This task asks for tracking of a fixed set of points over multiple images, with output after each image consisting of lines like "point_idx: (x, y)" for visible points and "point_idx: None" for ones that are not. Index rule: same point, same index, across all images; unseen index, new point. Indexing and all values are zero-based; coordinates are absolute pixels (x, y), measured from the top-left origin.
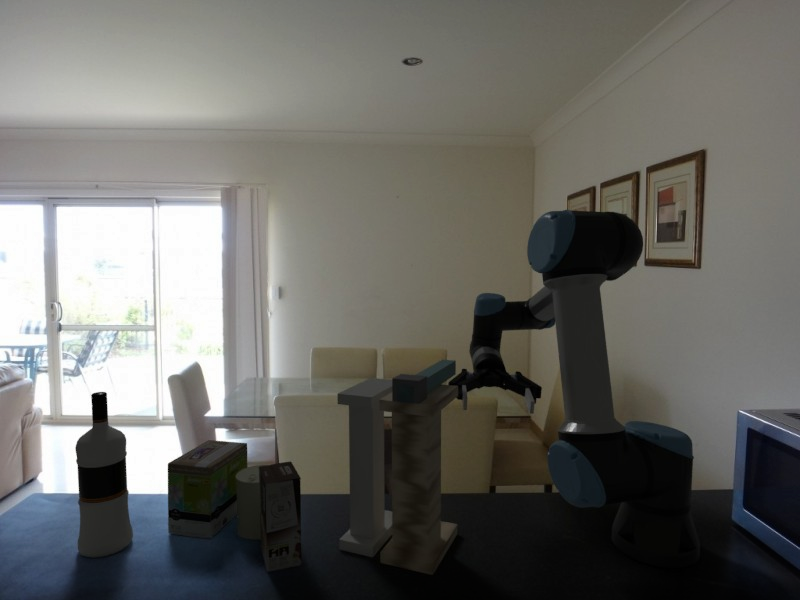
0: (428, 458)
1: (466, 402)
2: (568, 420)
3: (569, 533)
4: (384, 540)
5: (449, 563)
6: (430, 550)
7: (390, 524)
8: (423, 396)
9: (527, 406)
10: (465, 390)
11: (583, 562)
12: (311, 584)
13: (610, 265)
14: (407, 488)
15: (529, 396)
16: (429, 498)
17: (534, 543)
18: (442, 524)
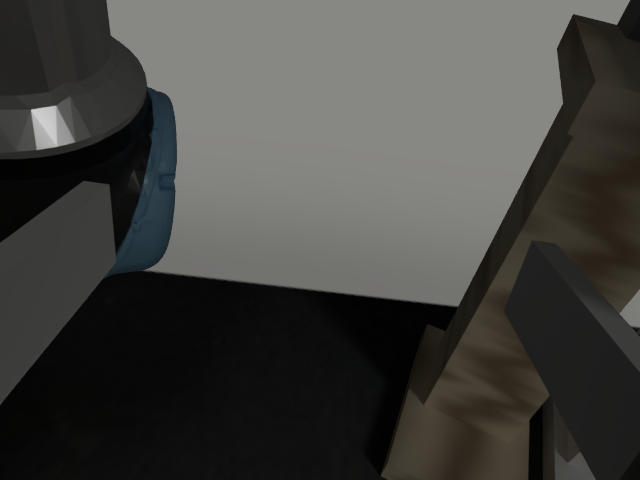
0: (522, 182)
1: (525, 266)
2: (113, 51)
3: (65, 457)
4: (546, 440)
5: (394, 364)
6: (438, 350)
7: (559, 475)
8: (630, 16)
9: (70, 312)
10: (601, 315)
11: (124, 340)
12: None
13: None
14: None
15: (65, 217)
16: (480, 265)
17: (193, 416)
18: (427, 464)
